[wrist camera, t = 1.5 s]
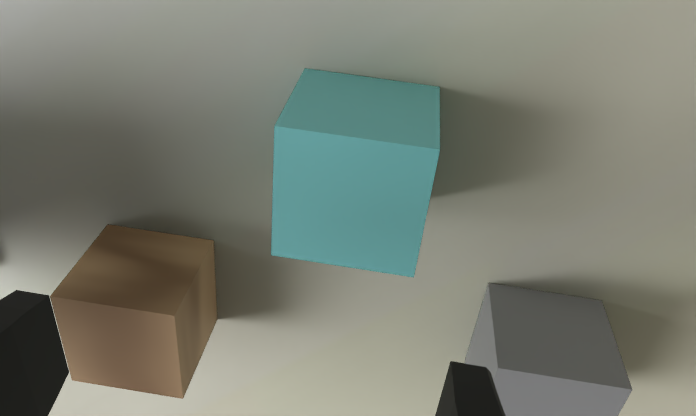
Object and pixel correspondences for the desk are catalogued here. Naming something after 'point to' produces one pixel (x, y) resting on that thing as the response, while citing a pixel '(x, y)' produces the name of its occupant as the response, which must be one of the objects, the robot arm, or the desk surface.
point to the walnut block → (138, 310)
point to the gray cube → (549, 353)
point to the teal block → (354, 171)
